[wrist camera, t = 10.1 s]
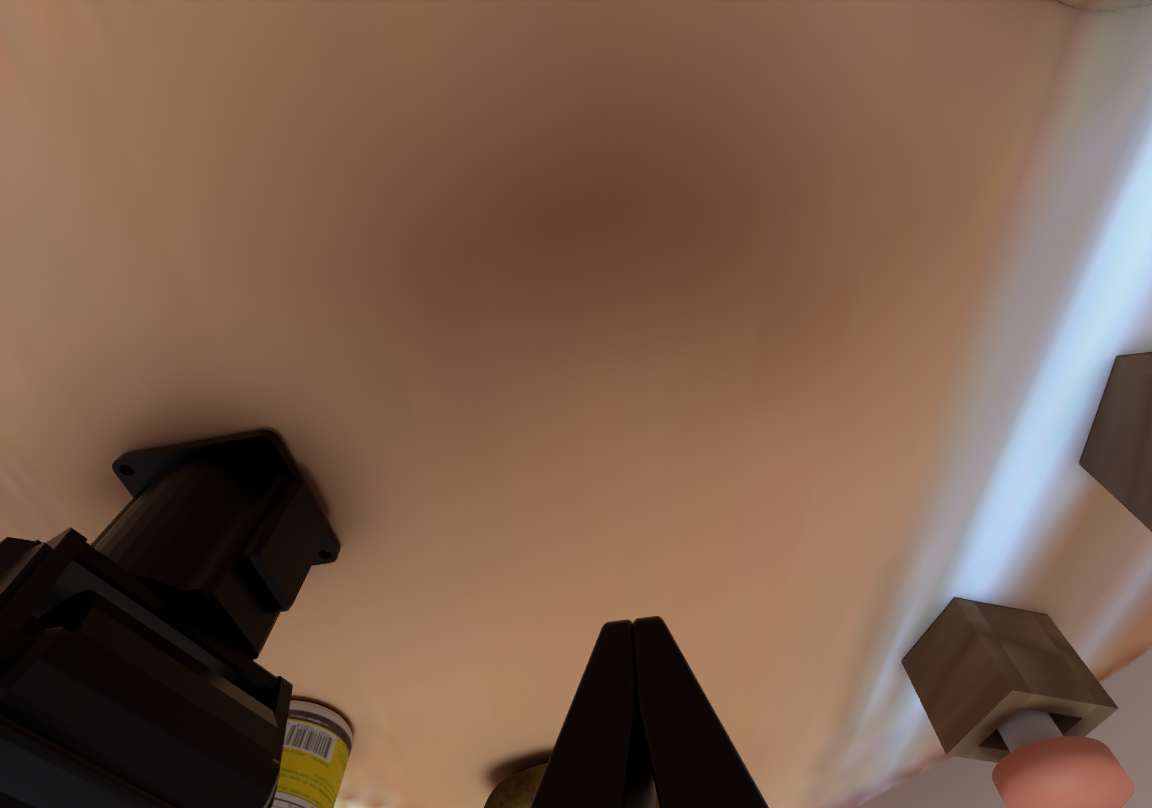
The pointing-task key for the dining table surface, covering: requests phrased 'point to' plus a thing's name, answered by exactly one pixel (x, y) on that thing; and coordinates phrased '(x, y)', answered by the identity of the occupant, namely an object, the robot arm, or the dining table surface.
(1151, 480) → the ivory key housing
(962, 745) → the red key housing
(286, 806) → the supplement bottle
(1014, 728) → the red rounded knob
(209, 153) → the dining table surface
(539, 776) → the potato
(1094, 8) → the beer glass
